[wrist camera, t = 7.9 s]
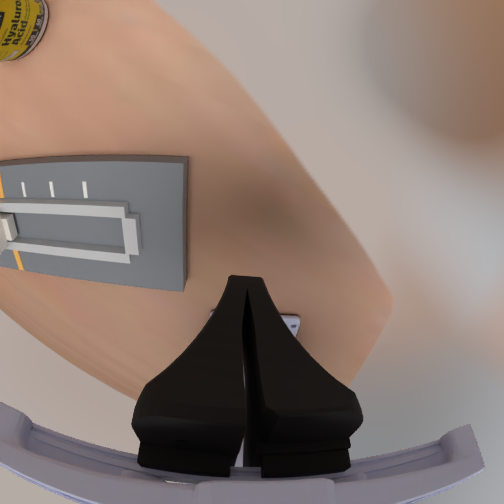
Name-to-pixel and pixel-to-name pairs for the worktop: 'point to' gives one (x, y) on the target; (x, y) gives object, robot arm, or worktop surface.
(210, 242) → the worktop surface
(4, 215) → the fader tab
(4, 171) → the console
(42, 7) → the supplement bottle
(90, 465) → the robot arm
